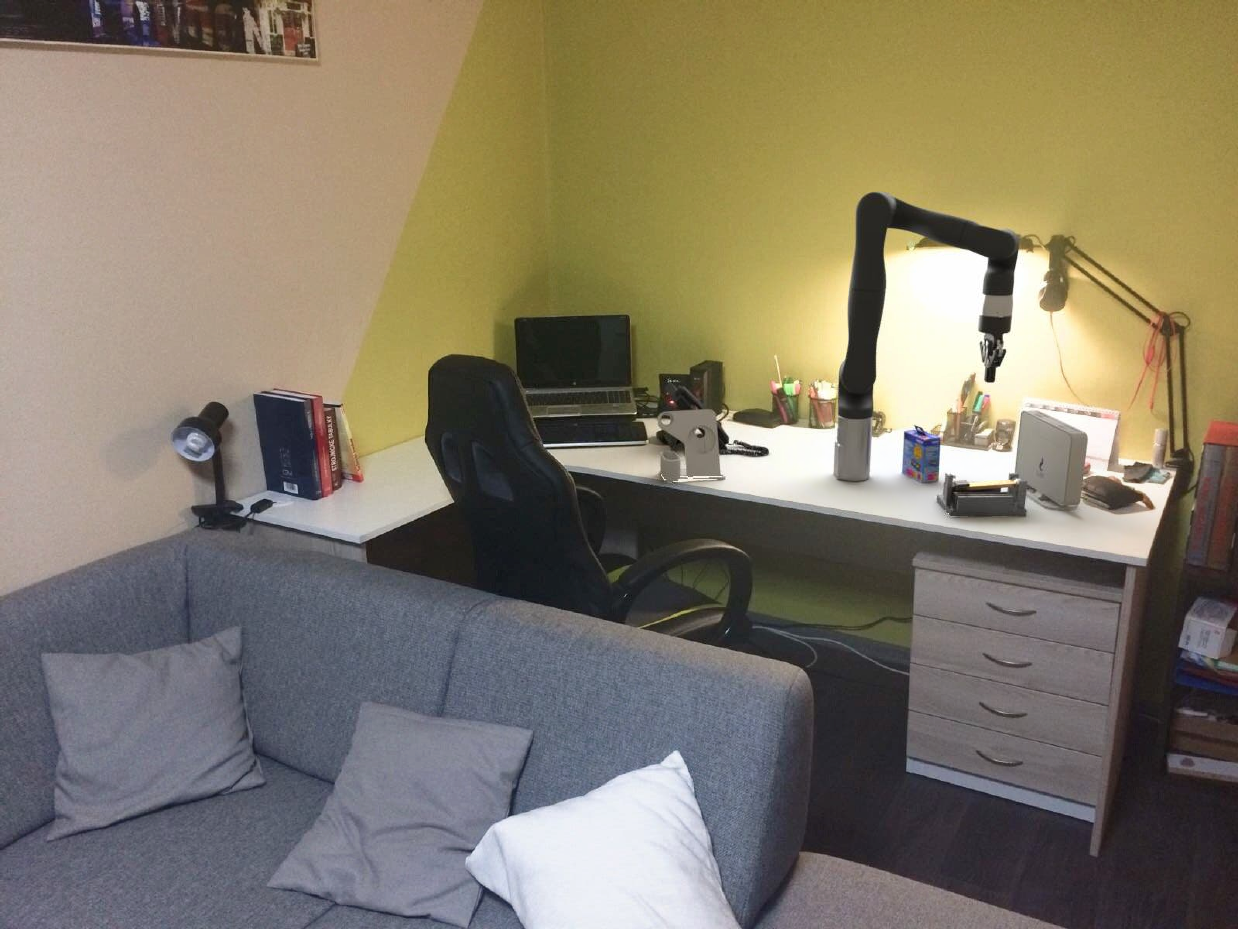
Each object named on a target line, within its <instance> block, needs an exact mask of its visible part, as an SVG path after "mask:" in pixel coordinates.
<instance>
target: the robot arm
mask: <svg viewBox="0 0 1238 929" xmlns="http://www.w3.org/2000/svg"><path fill="white" fill-rule="evenodd" d="M855 208H856V209H855V232H854V233H855V236H854V237H855V239H854V240H855V244H854V255H853V258H852V266H851V273H850V281H849V286H848V297H847V330H848V331H847V332H848V334H847V336H848V340H847V347H846V348H847V349H846V354H845V359H844V360H843V361H842V362H841V364H840V366H839V370H838V387H837V427H836V439H835V440H834V455H833V456H834V457H833V474H834V476H835V477H836V480H843V481H851V482H860V481H866V480H868V479H869V478H870V474H871V459H872V458H871V457H872V454H871V453H872V439H873V421H874V385H875V383H876V380H877V347H878V346H877V345H878V338H879V334H880V329H881V323H882V318H883V313H884V308H885V307H884V306H885V301H886V300H885V299H886V291H887V271H886V264H885V262H886V261H885V245H886V244H885V243H886V239H887V238H886V237H887V232H888V229H892V230H893V229H894V230H901V231H906V232H911V233H913V234H915V235H920V236H922V237H925V238H926V239H930V240H932V241H934V242H937V243H940V244H943V245H946V246H950V247H953V248H956V249H960V250H965V251H970V252H972V253H974V254H977V255H979V256H982V257H984V258H987V265H986V266H987V267H986V271H985V273H984V275H983V282H982V292H981V293H982V294H981V299H980V302H979V303H980V304H979V315H978V324H977V325H978V326H977V330H978V332H980V333H982V334H983V339H982V340H980V341H979V348H980V349H979V350H980V355H981V356H980V357H981V362H982V363H983V365H984V367H985V368H984V378H983V380H984V382H985V383H987V384H988V383H990V384H991V383H995V382H996V373H997V368H999V367H1001V365H1002V363H1003V360H1004V358H1005V355H1006V354H1007V349H1006V348H1004V342H1005V341H1004V334H1009V333H1010V332H1011V328H1012V318H1013V308H1014V300H1013V299H1014V289H1015V287H1014V286H1015V270H1016V266H1017V261H1018V256H1019V251H1020V250H1019V249H1020V239H1019V236H1018V234H1017V233H1016V231H1014V230H1012V229H1009V228H1001V229H998V228H994V227H990V226H985V225H982V224H980V223H979V222H976V221H974V220H971V219H967V218H963V217H960V216H956V215H951V214H947V213H943V212H938V211H934V210H930V209H927V208H922V207H919V206H916V205H913V204H910V203H908V202H906V201H904V200H902V199H899V198H897V197H896V196H893V195H891V194H889V193H887V192H886V191H871V192H868V193H866V194H864V195H863V196H861V198H860V199H859V200H858V202H857V205H856V207H855Z"/></svg>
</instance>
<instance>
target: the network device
mask: <svg viewBox="0 0 1238 929" xmlns="http://www.w3.org/2000/svg"><path fill="white" fill-rule="evenodd" d="M1019 418H1020V419H1019V429H1018V438H1017V445H1016V446H1017V448H1016V457H1015V467H1014V473H1018V474H1019V477H1018V479H1019V480H1026V481H1028V482H1027V487H1028V488H1033V489H1035V490H1036V491H1035V492H1034V493H1030V492H1028V491H1026V496H1027V497H1026V498H1028V497H1029V498H1028V499H1029V500H1030V501H1032V500H1033V502H1034V503H1036V504H1037V505H1039V506H1040V507H1042V508H1043V507H1044V509H1047V510H1053V511H1062V510H1063V511H1065V510H1075V509H1077V508H1078V506H1079V505H1080V503H1081V498H1082V497H1081V496H1082V489H1083V483H1084V473H1085V465H1086V459H1087V458H1086V456H1087V450H1088V443H1089V442H1088V441H1089V438H1088V434H1087V433H1086V431H1083V430H1081V429H1078V428H1077V427H1074V426H1072V425H1070V424H1068V423H1066V422H1064V421H1062V420H1060V419H1057V418H1055V417H1053V416H1051V415H1050V414H1047V413H1045V412H1043V411H1041V410H1038V409H1033V410H1022V411H1021V413H1020V417H1019ZM1042 500H1052V501H1054V502H1055V503H1057V504H1059V505H1049V504H1047V503H1045V502H1043V501H1042Z"/></svg>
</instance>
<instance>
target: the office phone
mask: <svg viewBox="0 0 1238 929" xmlns="http://www.w3.org/2000/svg"><path fill="white" fill-rule="evenodd" d="M664 389H665V391H666V392H667V394H668V396H669V398H670V399H671V400H672V401H673V402H674V404H675V405H676V406H677V407H676V409H675V411H684V410H696V409H695V408H694V406H695V407H696V408H697V410H702V409H708V408H707V406H705V405H704V404H703V403H702V402H701V401H700V400H699V399H698V398H697V397H696V396H695V395H694V394H693V393H692V392H691V391H690V390H689V389H688V388H687V387H685V386H684V385H678V387H676V386H675V385H674V384H673V383H672V382H671V381H669V382H668V383H667V384H666V386H665V387H664ZM693 405H694V406H693ZM697 430H698V431H699V432H700V433H701V434H702V436H703V437H704V436H705V431H704V429H702V428H698V429H697ZM717 432H718V446H719V455H733V454H734V455H735V454H736V455H745V456H751V457H756V456H758V457H763V456H767V455H769V453H770V451H769V450H770V449H769V448H768V447H765V446H762V445H753V444H752V445H751V444H749V443H747V442H744V441H742V440H740V441H739V440H738V439H734V440H733V441H732V442H733V443H730V436H729V435H728V434H727V432H726V431H725V430H724V428H723V427H722V425H721V423H720V422H719V421H718V420H717ZM677 443H678V439H677V438H675V437H674V436H672V435H671V442H670V443H669V445H668V447H669V449H670V451H674V449H675V447H676V445H677ZM732 445H736V446H741V447H743V448H745V449H746V450H745V449H738V448H736V449H735V448H733V449H732V448H731V449H730V448H728V446H732Z"/></svg>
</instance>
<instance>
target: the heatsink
mask: <svg viewBox="0 0 1238 929" xmlns="http://www.w3.org/2000/svg"><path fill="white" fill-rule="evenodd" d="M956 477H957V475H956V473H955V472H952V471H951V472H945V474H944V482H943V488H942V489H943V491H942V494H936V500H937V501H936V502H937V503H938V504H939V506H940V505H941V506H940V507H941V508H942V507H943V508H944V509H943V508H942V509H943V510H944V511H945V510H946V511H945V513H946V514H947V513H949V515H950V516H968V517H967V518H976V517H977V518H981V517H983V518H986V517H987V518H991V517H992V516H993V518H995V517H994V516H998V517H997V518H999V516H1007V517H1009V516H1011V517H1027V512H1028V510H1027V509H1026V500H1027V499H1026V498H1027V497H1026V492H1028V490H1027V489H1028V488H1027V482H1028V481H1026V480H1020V479H1019V478H1018V477H1019V474H1018V473H1015V472H1009V473H1008V479H1007V480H1011V479H1012V478H1013V477H1017V478H1018V479H1019V480H1018V481H1017V487H1007V491H1002V488H993V489H978V490H963V491H957V490H956V489H955V488H954V479H956ZM967 482H968V483H970V482H971V481H967ZM949 515H948V516H949ZM950 516H949V517H950ZM970 516H972V517H970ZM974 516H975V517H974ZM1007 517H1006V518H1007ZM1009 518H1010V517H1009Z"/></svg>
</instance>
